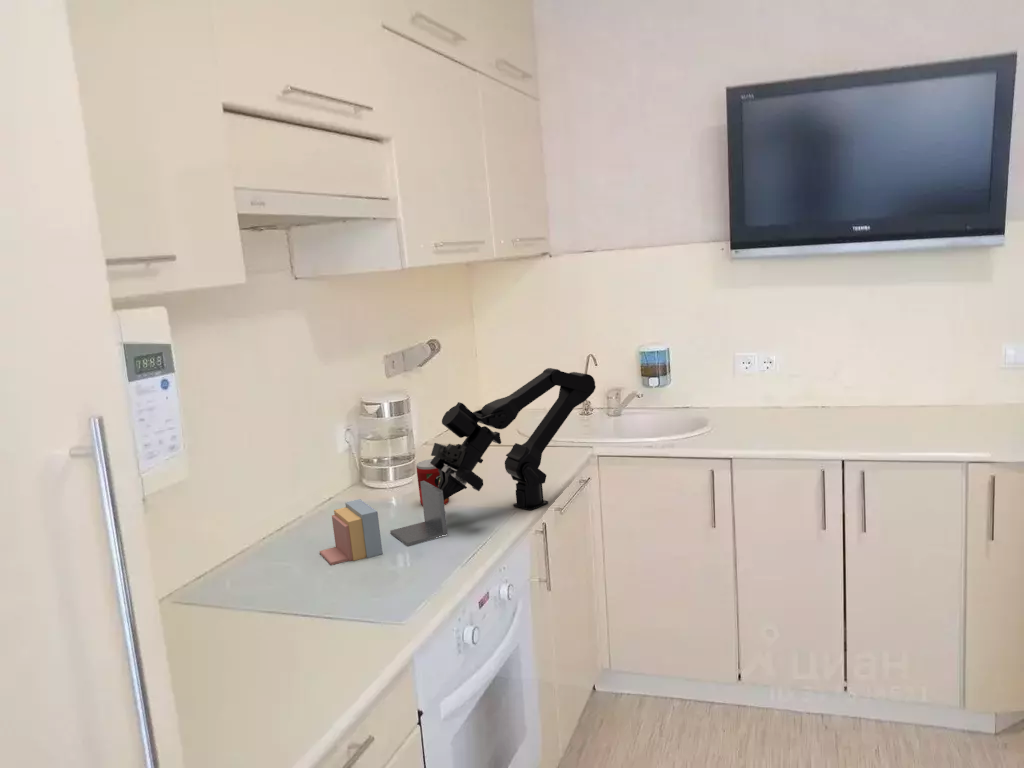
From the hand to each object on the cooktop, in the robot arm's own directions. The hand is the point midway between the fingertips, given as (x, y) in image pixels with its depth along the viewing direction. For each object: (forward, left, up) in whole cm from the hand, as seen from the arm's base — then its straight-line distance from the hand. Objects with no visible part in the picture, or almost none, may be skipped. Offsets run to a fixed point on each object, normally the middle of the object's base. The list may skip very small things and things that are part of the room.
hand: (436, 502), depth 197 cm
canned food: (-13, -17, -7) cm, 23 cm away
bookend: (+5, -1, -7) cm, 9 cm away
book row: (+21, -6, -7) cm, 23 cm away
